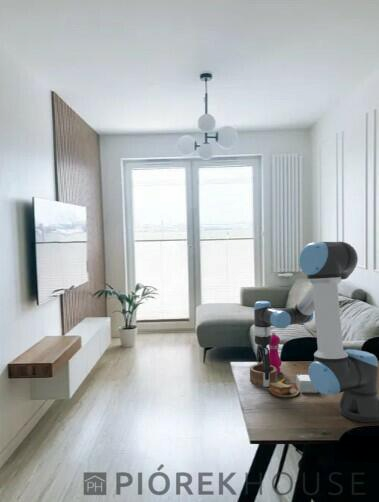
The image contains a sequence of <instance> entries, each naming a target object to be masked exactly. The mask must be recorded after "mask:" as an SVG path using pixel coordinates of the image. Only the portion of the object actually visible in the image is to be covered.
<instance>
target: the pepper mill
mask: <svg viewBox="0 0 379 502" xmlns="http://www.w3.org/2000/svg"><path fill="white" fill-rule="evenodd" d="M270 335H271V344H269V345H268V349H269V358H270V365H272V366H274V367H276V369H277V375H278V374H280V373H281V367H282V360H281V357H280V354H279V348H280V345H279V344H280V342H281V339H280V337H279V336H278V335H277V334H276V332H275V331H271V334H270Z"/></svg>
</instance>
